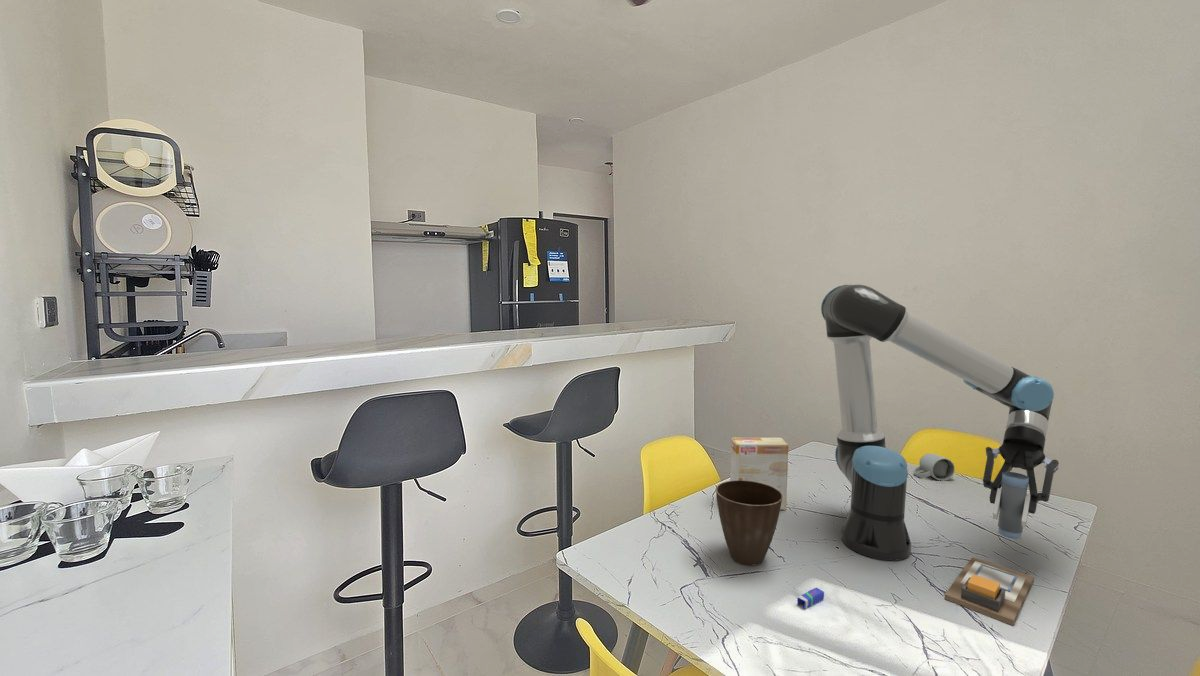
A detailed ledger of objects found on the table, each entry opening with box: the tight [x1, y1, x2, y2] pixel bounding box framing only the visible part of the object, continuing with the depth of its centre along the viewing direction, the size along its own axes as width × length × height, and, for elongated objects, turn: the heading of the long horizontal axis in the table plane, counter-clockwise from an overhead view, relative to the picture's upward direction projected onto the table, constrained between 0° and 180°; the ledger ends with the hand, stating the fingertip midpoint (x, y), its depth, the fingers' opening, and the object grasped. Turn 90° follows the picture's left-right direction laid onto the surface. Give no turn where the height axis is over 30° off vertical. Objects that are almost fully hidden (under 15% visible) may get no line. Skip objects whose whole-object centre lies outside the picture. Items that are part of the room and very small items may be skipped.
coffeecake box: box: [729, 436, 789, 511], centre depth 147 cm, size 15×7×20 cm, turn 88°
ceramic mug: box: [913, 453, 955, 482], centre depth 170 cm, size 11×8×8 cm
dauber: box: [997, 471, 1029, 540], centre depth 114 cm, size 5×5×14 cm
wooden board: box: [944, 556, 1035, 626], centre depth 106 cm, size 22×11×3 cm, turn 132°
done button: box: [967, 574, 1000, 600], centre depth 101 cm, size 4×4×2 cm
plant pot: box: [715, 480, 782, 566], centre depth 118 cm, size 15×15×16 cm
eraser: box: [796, 587, 825, 610], centre depth 102 cm, size 2×6×2 cm, turn 121°
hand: (1009, 520), depth 112 cm, fingers closed on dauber, 4 cm apart
